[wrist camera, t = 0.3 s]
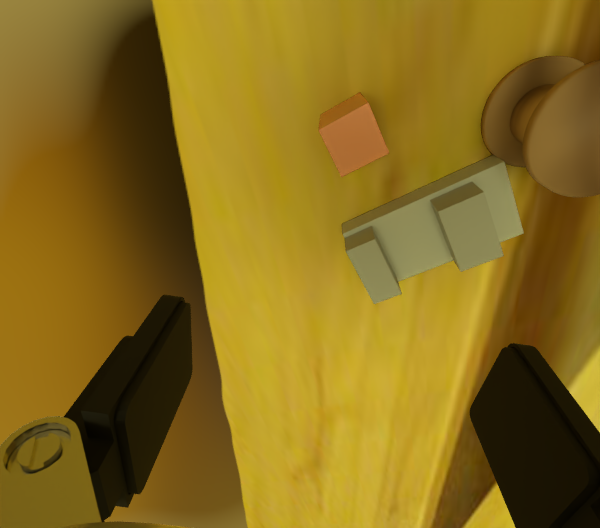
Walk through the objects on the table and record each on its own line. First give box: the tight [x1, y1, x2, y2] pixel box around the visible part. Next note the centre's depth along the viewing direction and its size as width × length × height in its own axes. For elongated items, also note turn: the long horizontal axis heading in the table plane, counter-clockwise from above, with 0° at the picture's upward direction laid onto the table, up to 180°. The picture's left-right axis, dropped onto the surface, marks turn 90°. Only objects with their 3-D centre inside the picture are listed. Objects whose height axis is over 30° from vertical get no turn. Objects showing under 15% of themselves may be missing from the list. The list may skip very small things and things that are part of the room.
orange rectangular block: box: [319, 93, 389, 177], centre depth 30 cm, size 4×4×8 cm
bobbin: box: [481, 56, 600, 197], centre depth 28 cm, size 9×9×9 cm
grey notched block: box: [342, 155, 523, 304], centre depth 36 cm, size 16×8×6 cm, turn 119°
